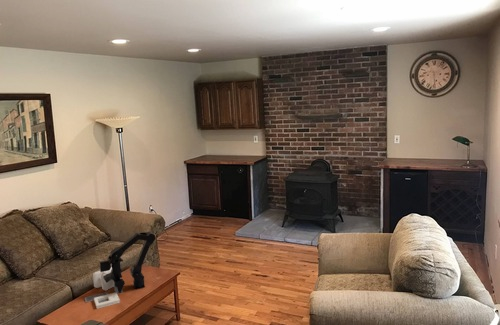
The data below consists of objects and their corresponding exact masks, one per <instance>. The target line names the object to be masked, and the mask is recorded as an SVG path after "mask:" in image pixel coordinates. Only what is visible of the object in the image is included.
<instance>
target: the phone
mask: <svg viewBox="0 0 500 325" xmlns="http://www.w3.org/2000/svg"><path fill="white" fill-rule="evenodd" d="M108 294H109V293H108V292H107V291H106V292H105V291H104V292H102V293H97V294H93V295H89V296H86V297H84V301H85V303H89V302H94V298H96V297H100V296H104V295H108Z"/></svg>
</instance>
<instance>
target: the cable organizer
mask: <svg viewBox="0 0 500 325" xmlns="http://www.w3.org/2000/svg"><path fill="white" fill-rule="evenodd" d="M111 270H112V266H111V268H110V270H109V271H104V272H100V270H97V271H95V272H93V274H92V282H93V287H94V288H95V289H96V288H97V289H99V288H101V289H102V290H103V291H108V289H109V290H111V288H114V280H110V281H108V282H107V283H106V281H105V280H104V278H103V276H105V275H107V274H108V273H111Z"/></svg>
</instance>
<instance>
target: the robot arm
mask: <svg viewBox="0 0 500 325" xmlns="http://www.w3.org/2000/svg"><path fill="white" fill-rule="evenodd" d="M139 240H141V241H143V244H142V247H141V249H140V252H139V255H138V256H137V259H136V262H135V263H134V264H131V267H130V269H129V273H130V276H131V277H132V278H133V281H132V285H133V288H134V289H135V290H139V289H143V288H146V285H145V276H144V274H143V272H142V270H143V269H142V267H143V264H144V261H145V259H146V256H147V254H148V252H149V249H150V247H151V246H152V244H154V242H155V240H156V235H155V234H154V233H153V232H152V231H147V232H146V231H143V232H135V233H134V234H133V235H132V236H131V237H130V238H128V239H127V240H126V241H125V242H124V243H122V244H121V245H120V246H117V247H115V248H113V249H112V250H110V251H109V252H110V253H109V256H108V257H107V260H103V261H99V265H98V266H99V271H100V272H104V271H109V270H110V268H111V267H112V270H111V273H108V274H107V275H105V276H103V278H104V280H105V281H106V283H107V282H108V281H110V280H114V285H115V287H117V289H118V292H119V294H122V293H121V291H123V288H124V285H125V284H126V283H125V282H126V281H125V279H124V278H123V275H122V270H123V269H122V265H121V262H124V259H123V258H121V257H122V256H123V255H124V253H125V252H126V251H127V250H128V249H129V248H131V247H132V246H133V245H134V244H136V243H137V242H138V241H139Z"/></svg>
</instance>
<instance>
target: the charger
mask: <svg viewBox="0 0 500 325" xmlns="http://www.w3.org/2000/svg"><path fill="white" fill-rule="evenodd" d="M113 288H114V289H113V291H114V293H117V295H118V294H119V295H120V294H122V293H123V290H122V291H121V293H119V292H118V289H117V287H115V285H114V287H113Z"/></svg>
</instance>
